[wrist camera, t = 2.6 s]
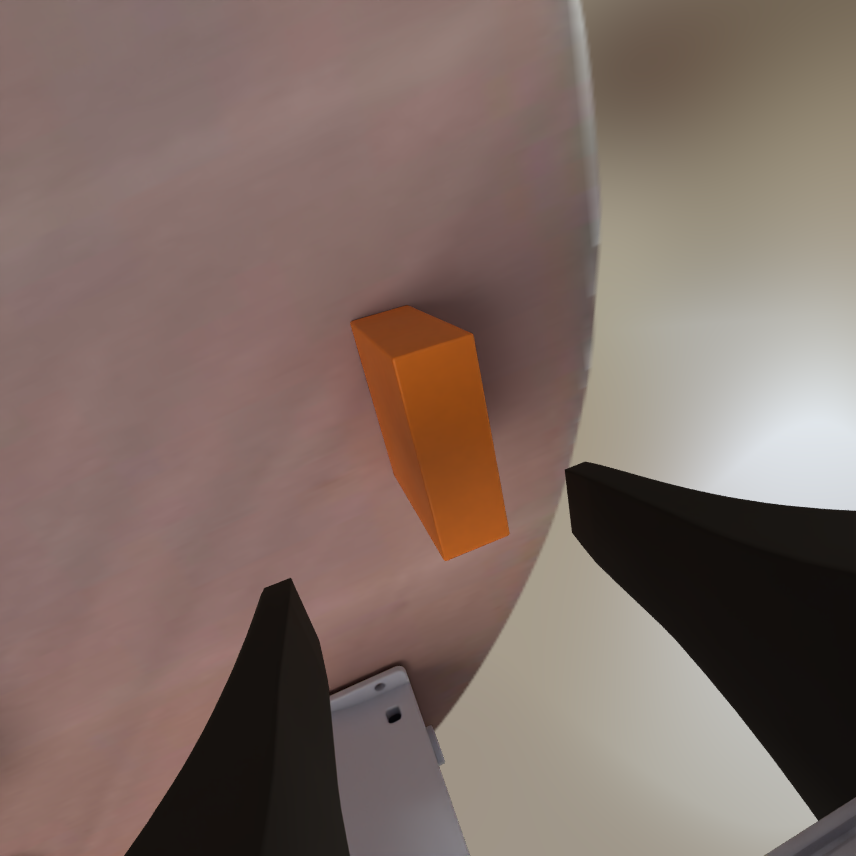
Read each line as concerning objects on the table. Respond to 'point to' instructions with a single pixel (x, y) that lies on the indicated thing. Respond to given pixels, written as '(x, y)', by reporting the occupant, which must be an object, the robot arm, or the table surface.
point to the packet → (435, 424)
